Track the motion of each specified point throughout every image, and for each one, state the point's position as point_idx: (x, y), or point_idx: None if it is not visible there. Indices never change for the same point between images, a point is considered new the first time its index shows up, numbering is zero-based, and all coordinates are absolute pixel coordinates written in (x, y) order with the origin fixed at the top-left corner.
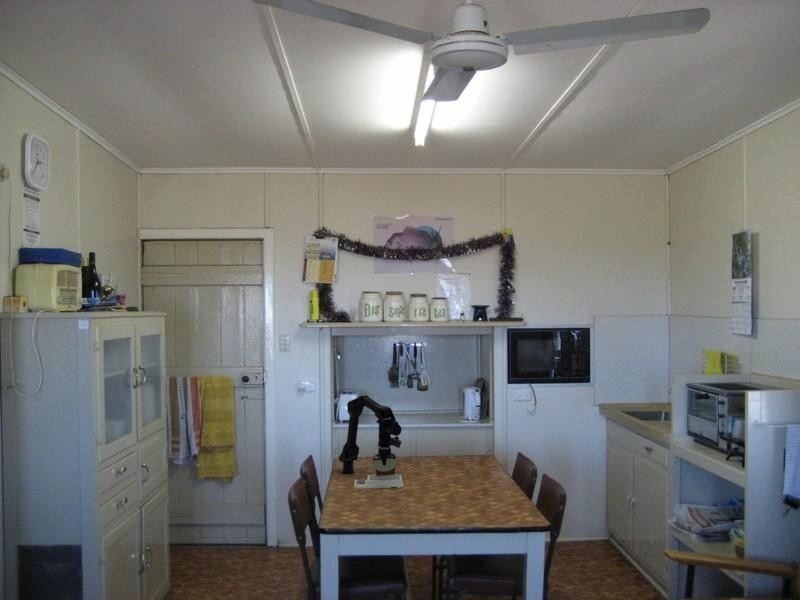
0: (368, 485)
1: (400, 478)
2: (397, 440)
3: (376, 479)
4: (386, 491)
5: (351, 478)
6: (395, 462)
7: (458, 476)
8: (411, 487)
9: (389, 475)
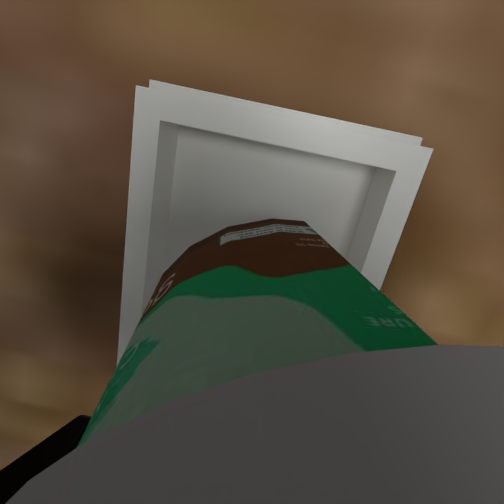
0: None
1: (338, 148)
2: None
3: None
4: (465, 320)
5: (30, 448)
6: (415, 329)
7: None
8: (443, 35)
9: (150, 242)
